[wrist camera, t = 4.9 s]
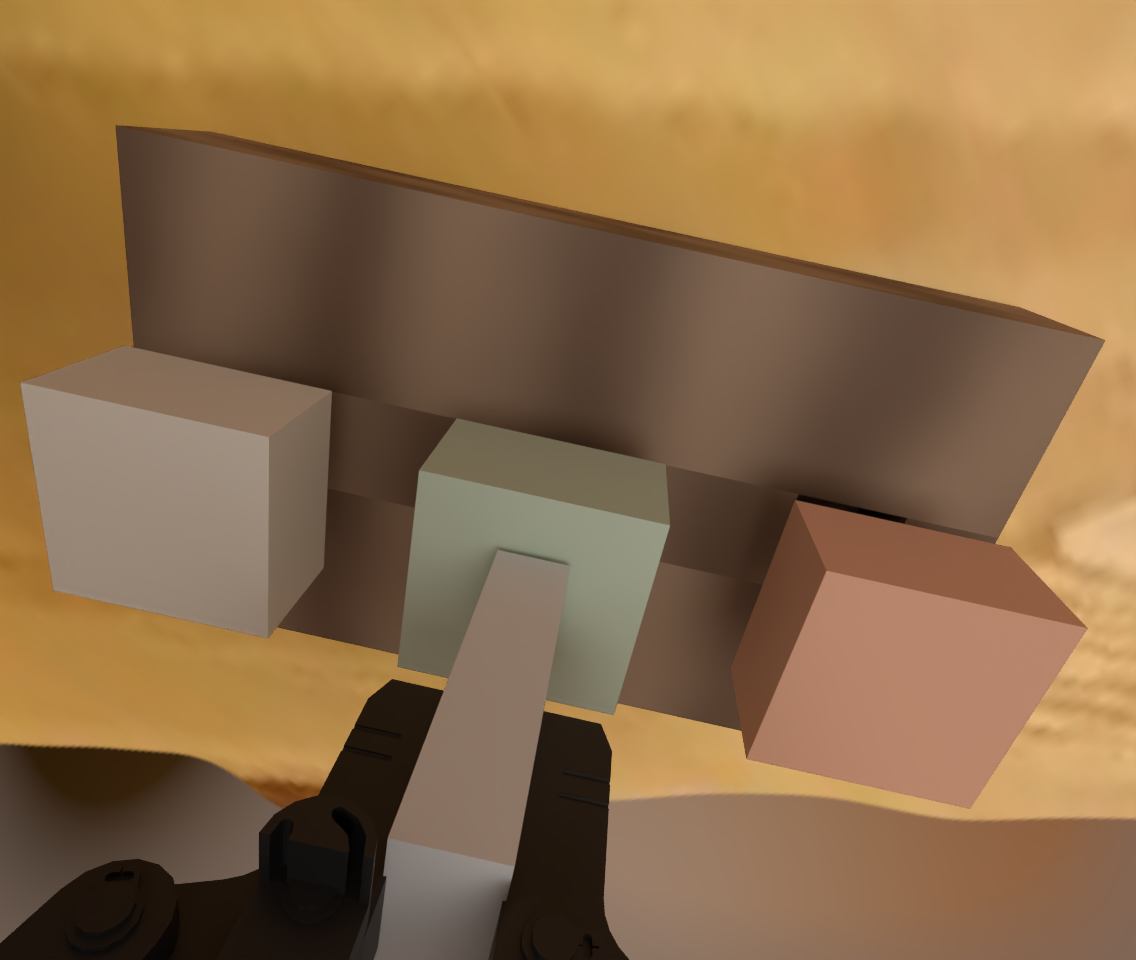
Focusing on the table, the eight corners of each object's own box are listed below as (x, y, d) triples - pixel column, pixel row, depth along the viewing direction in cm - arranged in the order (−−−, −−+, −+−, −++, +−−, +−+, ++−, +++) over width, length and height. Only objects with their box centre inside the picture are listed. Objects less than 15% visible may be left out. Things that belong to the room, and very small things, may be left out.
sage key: (460, 536, 21) (397, 667, 16) (483, 381, 19) (419, 470, 13) (621, 571, 21) (613, 714, 16) (662, 420, 19) (669, 525, 13)
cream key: (205, 480, 21) (53, 590, 16) (199, 319, 19) (20, 382, 13) (364, 515, 21) (267, 638, 16) (376, 357, 19) (268, 437, 13)
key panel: (222, 539, 26) (154, 600, 22) (210, 131, 20) (115, 125, 16) (844, 677, 26) (877, 760, 22) (1021, 307, 20) (1105, 340, 16)
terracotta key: (719, 601, 21) (746, 758, 15) (772, 450, 18) (826, 570, 13) (883, 637, 20) (970, 808, 15) (956, 490, 18) (1087, 628, 13)
